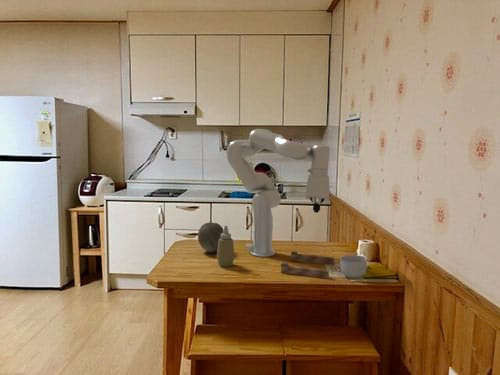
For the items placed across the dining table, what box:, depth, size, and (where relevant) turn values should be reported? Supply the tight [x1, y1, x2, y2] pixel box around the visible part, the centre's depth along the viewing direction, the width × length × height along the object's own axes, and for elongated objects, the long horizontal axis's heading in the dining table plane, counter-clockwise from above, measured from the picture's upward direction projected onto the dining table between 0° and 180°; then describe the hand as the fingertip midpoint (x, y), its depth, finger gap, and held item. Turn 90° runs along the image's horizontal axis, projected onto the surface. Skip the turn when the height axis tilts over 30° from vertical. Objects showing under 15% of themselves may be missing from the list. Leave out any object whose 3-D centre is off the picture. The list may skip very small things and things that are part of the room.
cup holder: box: [280, 251, 335, 279], centre depth 173 cm, size 20×21×4 cm
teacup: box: [339, 253, 367, 279], centre depth 164 cm, size 14×11×8 cm
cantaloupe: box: [197, 221, 224, 254], centre depth 195 cm, size 14×14×15 cm
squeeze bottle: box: [216, 225, 235, 268], centre depth 174 cm, size 8×8×18 cm
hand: (316, 212), depth 177 cm, fingers closed
